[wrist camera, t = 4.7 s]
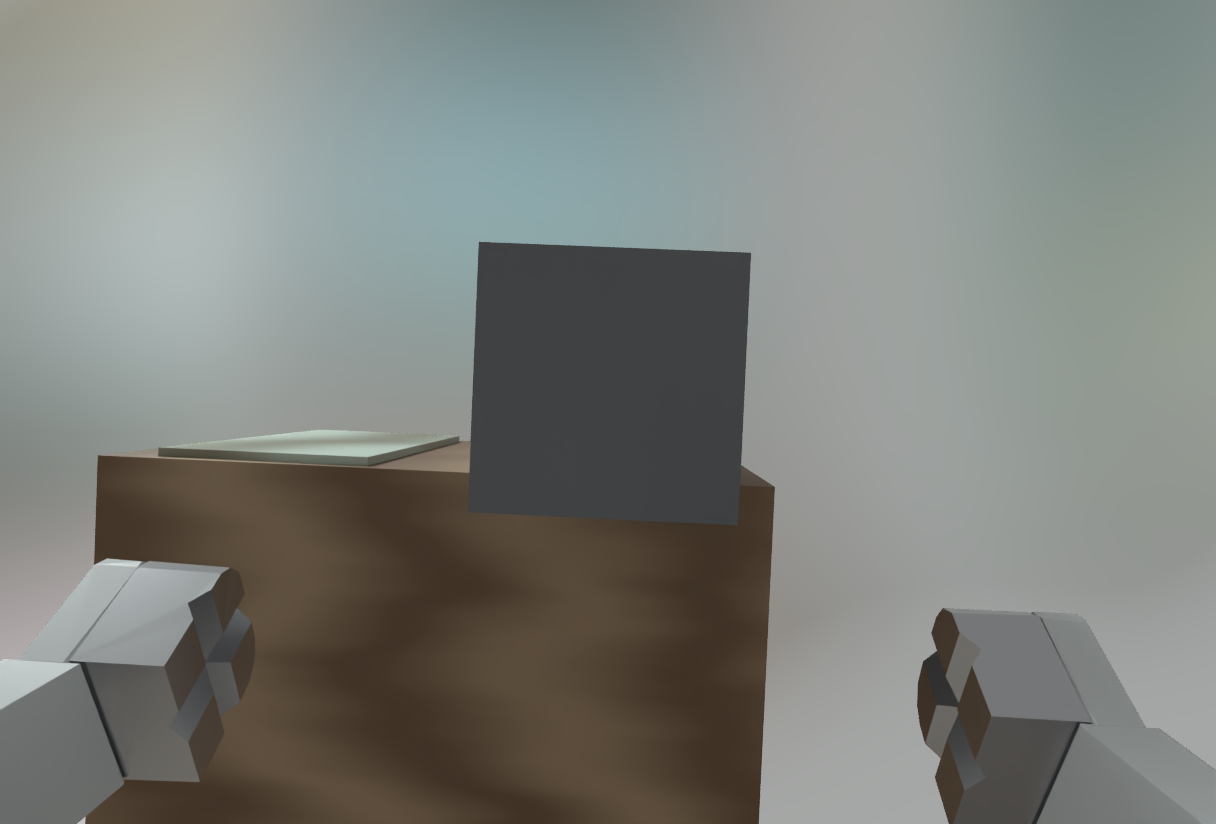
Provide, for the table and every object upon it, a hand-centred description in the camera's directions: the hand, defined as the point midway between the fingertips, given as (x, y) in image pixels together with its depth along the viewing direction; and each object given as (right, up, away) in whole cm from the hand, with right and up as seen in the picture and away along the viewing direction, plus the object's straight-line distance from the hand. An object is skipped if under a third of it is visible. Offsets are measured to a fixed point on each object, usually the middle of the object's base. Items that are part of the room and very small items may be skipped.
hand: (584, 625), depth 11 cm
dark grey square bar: (0, +1, +10) cm, 11 cm away
